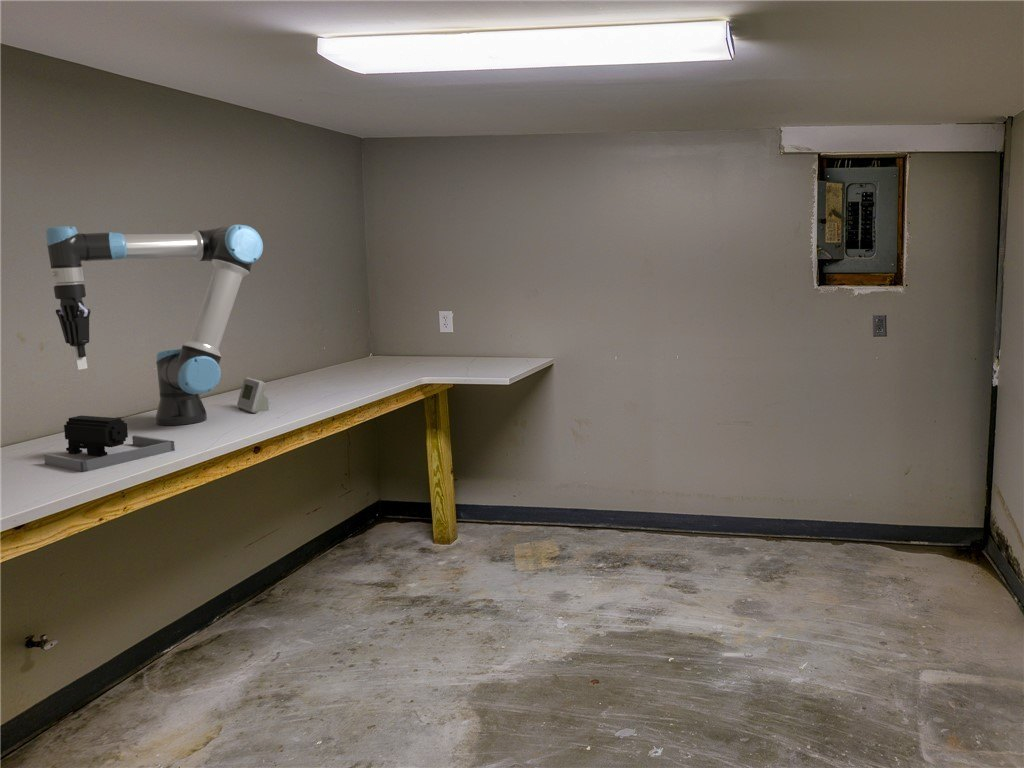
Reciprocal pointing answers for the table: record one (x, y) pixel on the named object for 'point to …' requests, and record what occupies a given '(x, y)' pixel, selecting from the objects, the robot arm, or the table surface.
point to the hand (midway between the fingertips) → (81, 368)
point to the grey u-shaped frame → (114, 455)
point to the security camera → (94, 434)
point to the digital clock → (253, 396)
